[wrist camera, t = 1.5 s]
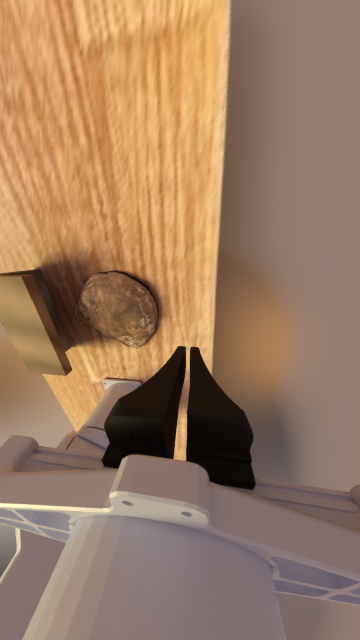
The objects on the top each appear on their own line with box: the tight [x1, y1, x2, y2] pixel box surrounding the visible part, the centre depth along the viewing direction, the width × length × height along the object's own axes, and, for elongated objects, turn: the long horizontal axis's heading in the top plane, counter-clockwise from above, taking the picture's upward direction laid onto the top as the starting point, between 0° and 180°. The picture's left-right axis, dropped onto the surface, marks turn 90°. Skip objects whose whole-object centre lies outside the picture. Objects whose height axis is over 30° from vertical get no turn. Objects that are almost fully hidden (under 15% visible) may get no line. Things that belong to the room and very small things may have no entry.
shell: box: [75, 271, 158, 348], centre depth 22 cm, size 12×13×4 cm
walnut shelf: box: [0, 270, 72, 376], centre depth 22 cm, size 14×6×6 cm, turn 1°
